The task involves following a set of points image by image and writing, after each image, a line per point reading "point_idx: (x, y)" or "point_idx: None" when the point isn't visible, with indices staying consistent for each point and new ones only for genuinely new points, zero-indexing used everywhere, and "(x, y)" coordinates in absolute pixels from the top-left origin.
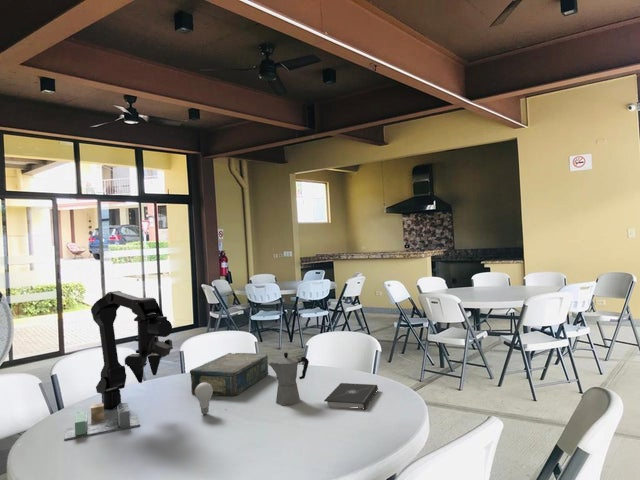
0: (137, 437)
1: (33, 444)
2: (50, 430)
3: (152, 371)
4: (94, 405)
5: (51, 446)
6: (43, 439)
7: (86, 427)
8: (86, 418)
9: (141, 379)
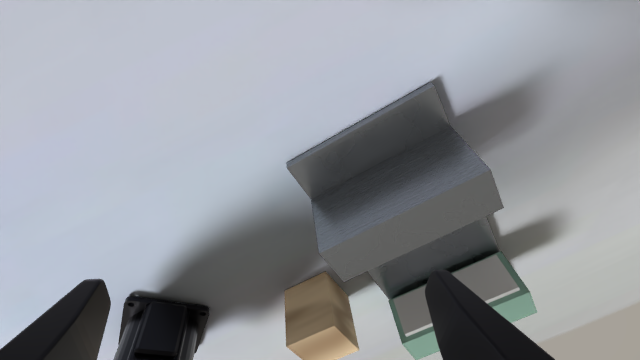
0: (603, 11)
1: None
2: (403, 354)
3: (92, 352)
4: (323, 356)
5: (547, 288)
6: None
7: (505, 268)
8: None
9: (481, 299)
